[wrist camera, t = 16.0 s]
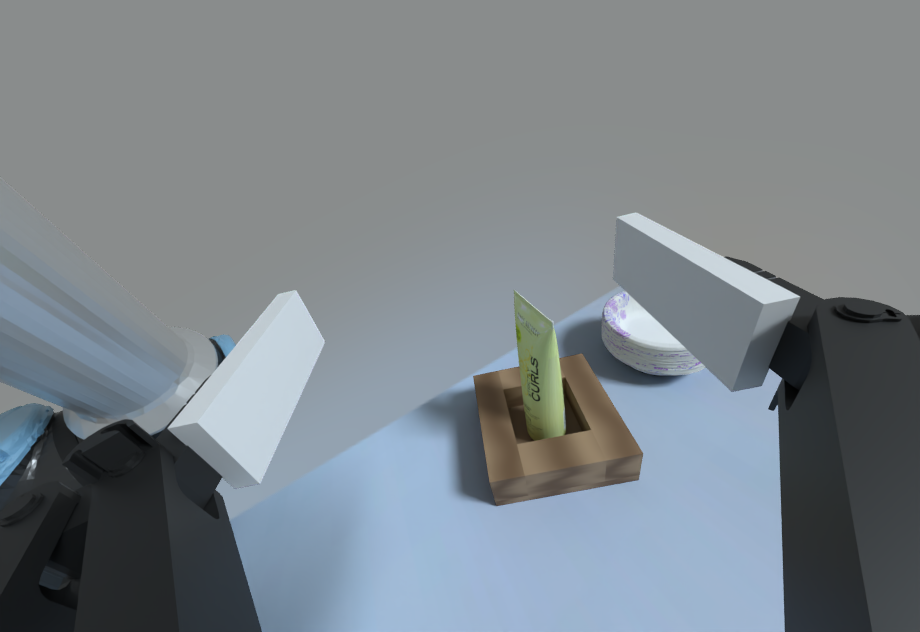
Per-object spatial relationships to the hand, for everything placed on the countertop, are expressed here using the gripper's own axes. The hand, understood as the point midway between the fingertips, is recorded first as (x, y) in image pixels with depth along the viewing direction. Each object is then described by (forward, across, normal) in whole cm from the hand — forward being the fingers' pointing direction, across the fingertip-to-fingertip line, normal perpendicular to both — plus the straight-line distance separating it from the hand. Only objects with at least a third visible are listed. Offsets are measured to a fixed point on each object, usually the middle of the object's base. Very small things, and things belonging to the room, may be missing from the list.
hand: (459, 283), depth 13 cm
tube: (+15, +6, -31) cm, 35 cm away
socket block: (+15, +6, -32) cm, 36 cm away
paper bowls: (+25, +26, -32) cm, 48 cm away
